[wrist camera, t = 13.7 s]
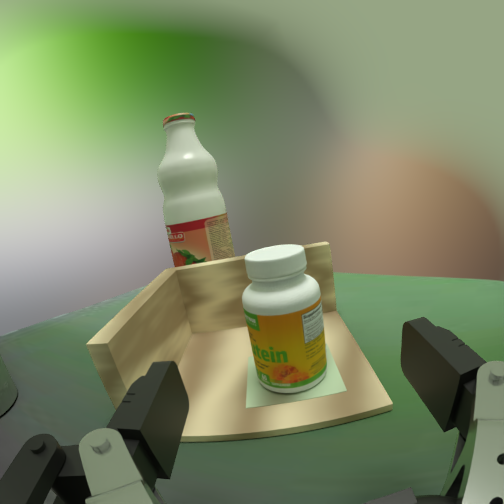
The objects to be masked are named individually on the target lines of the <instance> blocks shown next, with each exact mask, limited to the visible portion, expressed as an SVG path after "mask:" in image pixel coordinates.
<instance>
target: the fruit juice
mask: <svg viewBox="0 0 504 504" xmlns="http://www.w3.org/2000/svg"><path fill="white" fill-rule="evenodd" d="M194 125H195V118H194V115H193V114H191V113H180V114H175V115H171V116H169V117H167V118H165V119H164V120H163V127H164V130H165V131H166V133H167V145H166V152H165V156H164V158H163V160H162V162H161V163H160V166H159V168H158V174H157V175H158V182H159V185H160V187H161V189H162V192H163V194H164V205H163V213H164V220H165V225H166V229H167V234H168V239H169V243H170V248H171V252H172V256H173V261H174V265H175V267H180V266H186V265H192V264H198V263H203V262H209V261H215V260H221V259H227V258H233V257H235V254H234V249H233V244H232V239H231V233H230V228H229V223H228V218H227V212H226V207H225V203H224V199H223V196H222V194H221V192H220V191H219V189H218V187H217V176H218V169H217V165H216V161H215V159H214V158H213V157H212V156H211V155H210V154H209V153H208V152H207V151H206V150H205V149H204V148H203V147H202V145H201V143H200V142H199V140H198V138H197V136H196V133H195V130H194Z"/></svg>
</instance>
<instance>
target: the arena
mask: <svg viewBox="0 0 504 504" xmlns="http://www.w3.org/2000/svg"><path fill="white" fill-rule="evenodd" d="M302 247H304V250H305V256H306V261H307V265H306V270H305V271H304V274H306V275H309V276H311V277H313V278H314V279H315V280H316V281H317V283H318V284H319V287H320V293H321V302H322V311H323V322H324V332H325V344H326V357H327V370H326V374H325V376H324V377H323V379H322V380H321V381H320V382H319V383H318V384H316V385H315V386H313V387H312V388H309V389H307V390H304V391H300V392H296V393H278V392H274V391H271V390H268V389H267V388H265V387H264V386H263V385H262V384H261V383H260V381H259V379H258V376H257V372H256V367H255V362H254V357H253V353H252V347H251V343H250V338H249V333H248V328H247V323H246V318H245V314H244V309H243V303H242V295H243V292H244V290H245V289H246V288H247V287H248V286H249V285H250V284H251V283H252V280H250V279H249V278H248V274H247V271H246V265H245V259H244V258H245V256H246V255H244V256H239V257H233V258H227V259H221V260H215V261H209V262H203V263H198V264H192V265H186V266H180V267H174V268H168V269H166V270H164V271H163V272H162V273H161V274H160V275H159V276H158V277H157V278H156V279H154V280H153V281H152V282H151V283H150V284H149V285H148V286H147V287H146V288H145V289H143V290H142V291H141V292H140V293H139V294H138V295H137V296H136V297H135V298H134V299H133V300H132V301H131V302H129V303H128V304H127V305H126V306H125V307H124V308H123V309H122V310H121V311H120V312H119V313H118V314H117V315H116V316H115V317H114V318H113V319H112V320H111V321H109V322H108V323H107V324H106V325H105V326H104V327H103V328H102V329H101V330H100V331H99V332H98V333H97V334H96V335H95V336H94V337H93V338H92V339H91V340H90V341H89V342H88V343H87V344H86V345H87V348H88V350H89V353H90V355H91V358H92V360H93V362H94V365H95V367H96V369H97V371H98V374H99V376H100V378H101V380H102V382H103V385H104V387H105V389H106V391H107V393H108V395H109V397H110V399H111V401H112V403H113V405H114V407H115V409H116V410H117V408H118V406H119V405H120V403H122V399H123V398H124V396H125V395H126V393H127V391H128V389H129V388H130V386H131V384H132V383H133V382H135V381H136V380H137V379H138V378H139V377H141V376H145V375H146V373H147V371H148V370H149V368H150V366H151V364H152V363H153V362H160V361H175V362H176V364H177V366H178V369H179V372H180V375H181V378H182V381H183V383H184V386H185V389H186V392H187V394H188V398H189V412H188V415H187V419H186V422H185V426H184V430H183V433H182V437H181V440H180V442H209V441H229V440H242V439H253V438H262V437H271V436H278V435H285V434H292V433H298V432H304V431H309V430H315V429H320V428H325V427H330V426H334V425H339V424H343V423H347V422H351V421H355V420H359V419H363V418H367V417H370V416H374V415H377V414H381V413H384V412H387V411H390V410H392V407H393V403H392V401H391V399H390V398H389V396H388V394H387V393H386V391H385V389H384V387H383V386H382V384H381V382H380V381H379V379H378V377H377V376H376V374H375V372H374V371H373V369H372V367H371V366H370V364H369V362H368V361H367V359H366V357H365V356H364V354H363V352H362V351H361V349H360V348H359V346H358V344H357V343H356V341H355V339H354V338H353V336H352V335H351V333H350V331H349V330H348V328H347V326H346V325H345V323H344V322H343V320H342V319H341V317H340V315H339V314H338V312H337V310H336V299H335V288H334V278H333V269H332V260H331V252H330V244H329V243H327V242H320V243H315V244H308V245H303V246H302Z"/></svg>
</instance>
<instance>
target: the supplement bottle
mask: <svg viewBox="0 0 504 504" xmlns="http://www.w3.org/2000/svg"><path fill="white" fill-rule="evenodd" d="M244 259H245V265H246V271H247V274H248V278H249V279H250V280H252V283H251V284H250V285H249V286H248V287H247V288H246V289H245V290H244V292H243V295H242V303H243V309H244V314H245V318H246V323H247V328H248V333H249V338H250V343H251V347H252V353H253V357H254V362H255V367H256V372H257V376H258V379H259V381H260V383H261V384H262V385H263V386H264V387H265V388H267V389H268V390H271V391H274V392H278V393H296V392H300V391H304V390H307V389H309V388H312V387H313V386H315V385H316V384H318V383H319V382H320V381H321V380H322V379H323V377H324V376H325V374H326V370H327V357H326V344H325V332H324V322H323V311H322V302H321V293H320V287H319V284H318V283H317V281H316V280H315V279H314V278H313V277H311V276H309V275H306V274H304V271H305V270H306V265H307V261H306V256H305V250H304V247H302V246H300V245H291V244H290V245H278V246H272V247H266V248H263V249H259V250H256V251H253V252H251V253H249V254H247V255H246V256H245V258H244Z"/></svg>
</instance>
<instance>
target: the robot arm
mask: <svg viewBox="0 0 504 504" xmlns="http://www.w3.org/2000/svg"><path fill="white" fill-rule="evenodd" d="M401 367H402V371H403V373H404V375H405V377H406V378H407V379H408V381H409V382H410V384H411V385H412V386H413V388H414V389H415V391H416V392H417V393H418V395H419V396H420V398H421V399H422V401H423V402H424V403H425V405H426V406H427V408H428V409H429V411H430V412H431V414H432V415H433V417H434V418H435V419H436V421H437V422H438V424H439V425H440V427H441V428H442V430H443V431H444V432H446V431H448V430H451V429H453V428H455V427H457V429H458V430H459V432H458V434H457V437H456V442H455V447H454V451H453V455H452V459H451V463H450V467H449V471H448V474H447V478H446V481H445V484H444V486H443V488H442V491H441V493H440V495H423V496H415V495H414V493H413V491H412V488H411V487H410V488H407V489H404V490H402V491H399V492H396V493H393V494H390V495H387V496H384V497H381V498H377V499H374V500H371V501H368V502H366V503H364V504H504V362H502V361H491V362H486V361H485V360H484V359H482V358H481V357H480V356H479V355H478V354H477V353H476V352H474V351H473V350H472V349H471V348H470V347H469V346H467V345H465V343H464V342H463V341H462V340H460V339H458V337H457V336H456V335H454V334H453V333H452V332H451V331H449V330H447V329H444V328H442V327H439V326H437V327H436V326H435V325H433V324H432V323H431V322H430V321H429V320H428V319H426V318H425V317H421V318H418V319H414V320H411V321H407V322H405V323H404V324H403V329H402V347H401ZM16 397H17V388H16V386H15V384H14V382H13V380H12V378H11V376H10V374H9V372H8V370H7V368H6V366H5V364H4V362H3V360H2V357H1V355H0V416H1V415H2V414H4V413H5V412H6V411H7V410H8V409H9V408H10V407H11V405H12V404H13V403H14V401H15V399H16ZM188 412H189V398H188V394H187V392H186V389H185V386H184V383H183V381H182V378H181V375H180V372H179V369H178V366H177V364H176V362H175V361H160V362H153V363H152V364H151V366H150V368H149V370H148V371H147V373H146V375H145V376H141V377H139V378H138V379H137V380H136V381H135V382H133V383H132V384H131V386H130V388H129V389H128V391H127V393H126V395H125V396H124V398H123V399H122V403H120V405H119V406H118V408H117V410H116V412H115V413H114V415H113V417H112V419H111V420H110V422H109V424H108V426H107V427H106V428H101V429H97V430H94V431H92V432H90V433H88V434H87V435H86V436H85V437H83V439H82V440H81V442H80V444H79V445H72V446H60V445H59V443H58V442H57V440H56V439H55V438H54V437H53V436H52V435H49V434H39V435H36V436H33V437H32V438H30V439H29V440H28V441H27V442H26V443H25V444H24V445H23V447H22V448H21V450H20V451H19V453H18V454H17V456H16V457H15V459H14V460H13V462H12V463H11V465H10V466H9V468H8V469H7V471H6V472H5V474H4V475H3V477H2V478H1V480H0V504H43V503H44V501H45V499H46V497H47V495H48V493H49V491H50V489H51V490H52V491H53V492H54V493H55V494H56V495H57V496H56V499H55V501H54V503H53V504H166V503H165V501H164V499H163V498H162V496H161V495H160V493H159V491H158V490H157V488H156V487H155V482H156V479H157V478H161V479H170V477H171V473H172V469H173V466H174V462H175V458H176V455H177V451H178V447H179V444H180V440H181V437H182V433H183V430H184V426H185V422H186V419H187V415H188Z"/></svg>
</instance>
